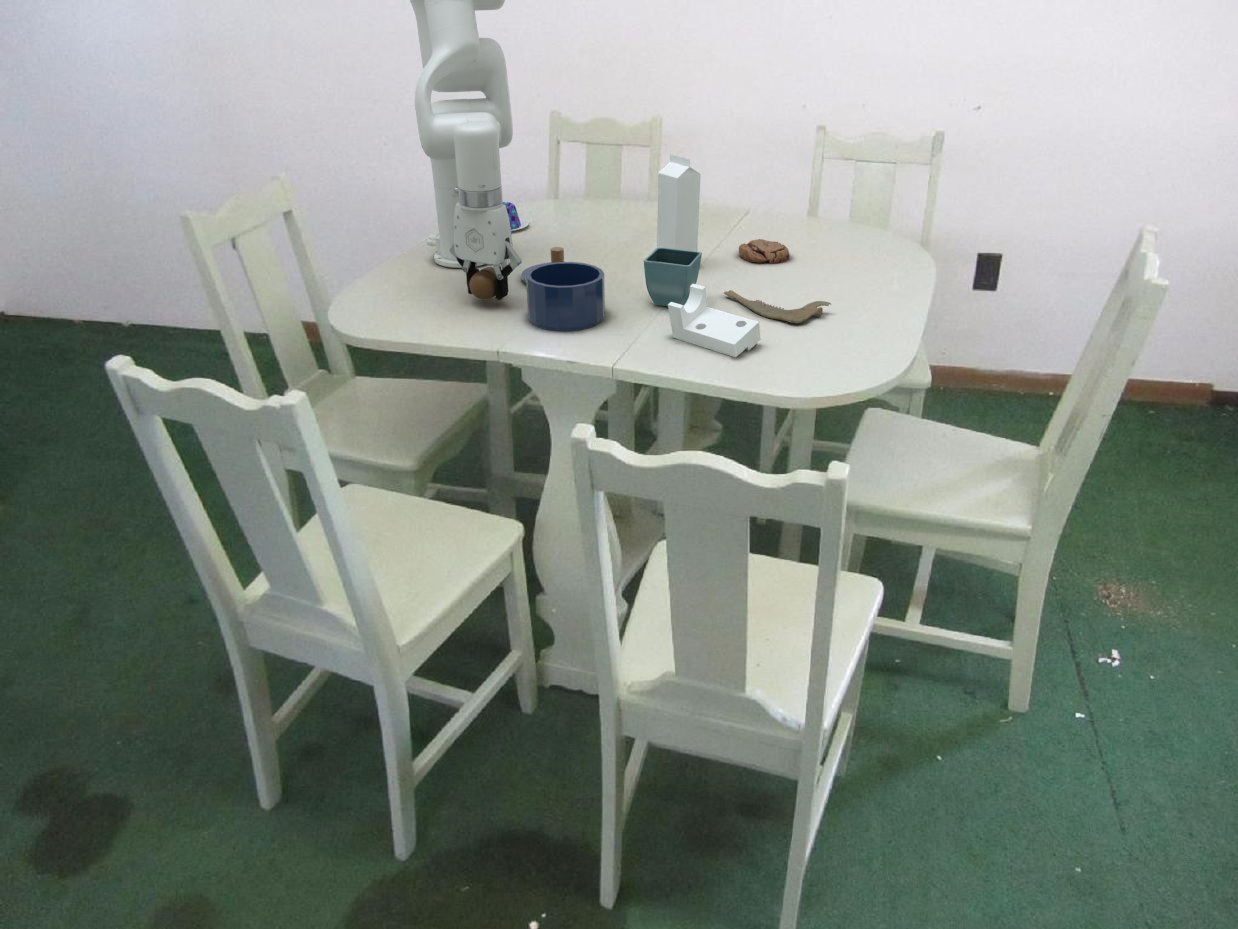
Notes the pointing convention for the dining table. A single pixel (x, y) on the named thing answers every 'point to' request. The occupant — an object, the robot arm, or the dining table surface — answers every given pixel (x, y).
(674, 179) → the milk
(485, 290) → the kiwi
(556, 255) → the lid
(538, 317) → the crock
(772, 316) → the jawbone
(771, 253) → the cookie
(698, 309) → the bracket
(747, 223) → the dining table surface
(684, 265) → the flower pot
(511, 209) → the pudding
